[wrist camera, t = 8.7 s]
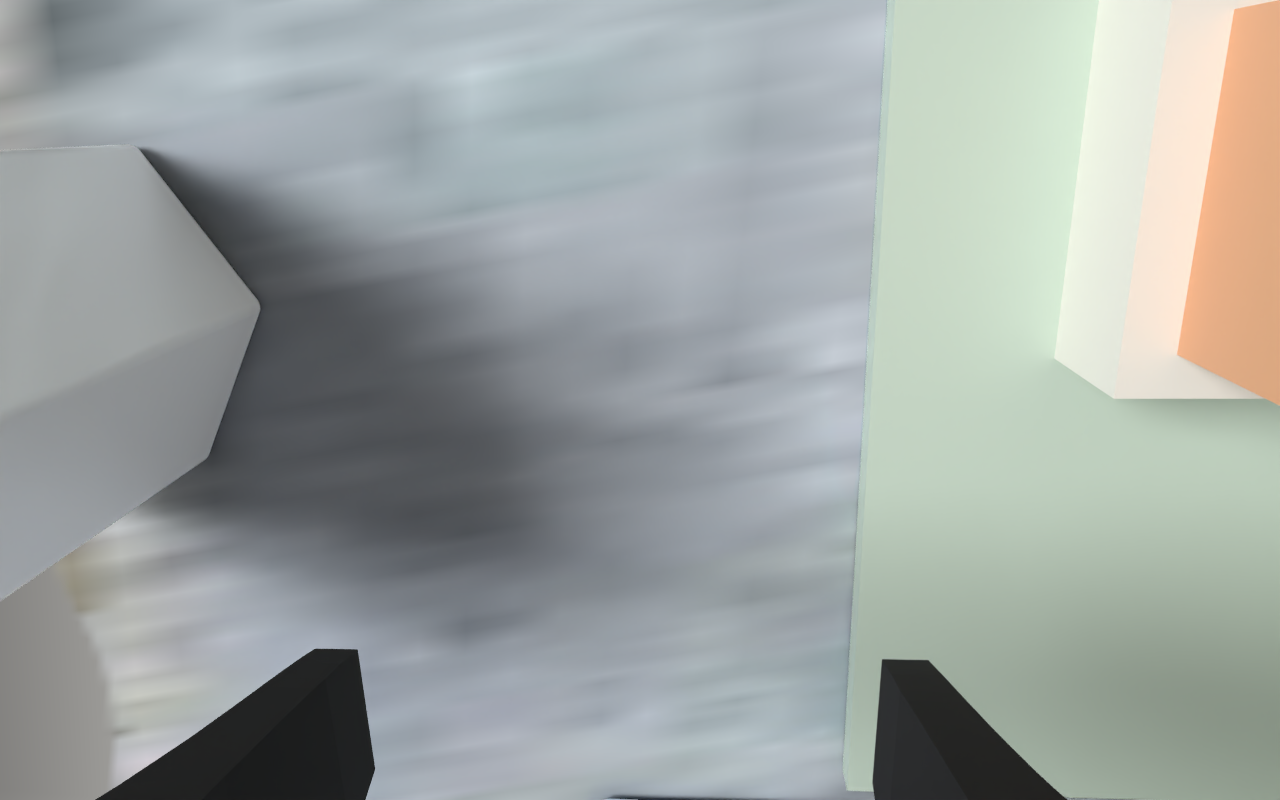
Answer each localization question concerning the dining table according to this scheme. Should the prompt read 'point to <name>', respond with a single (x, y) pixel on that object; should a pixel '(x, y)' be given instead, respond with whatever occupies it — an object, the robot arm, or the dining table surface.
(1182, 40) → the base brick
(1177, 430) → the baseplate
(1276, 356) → the top brick
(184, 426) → the jar
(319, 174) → the dining table surface
